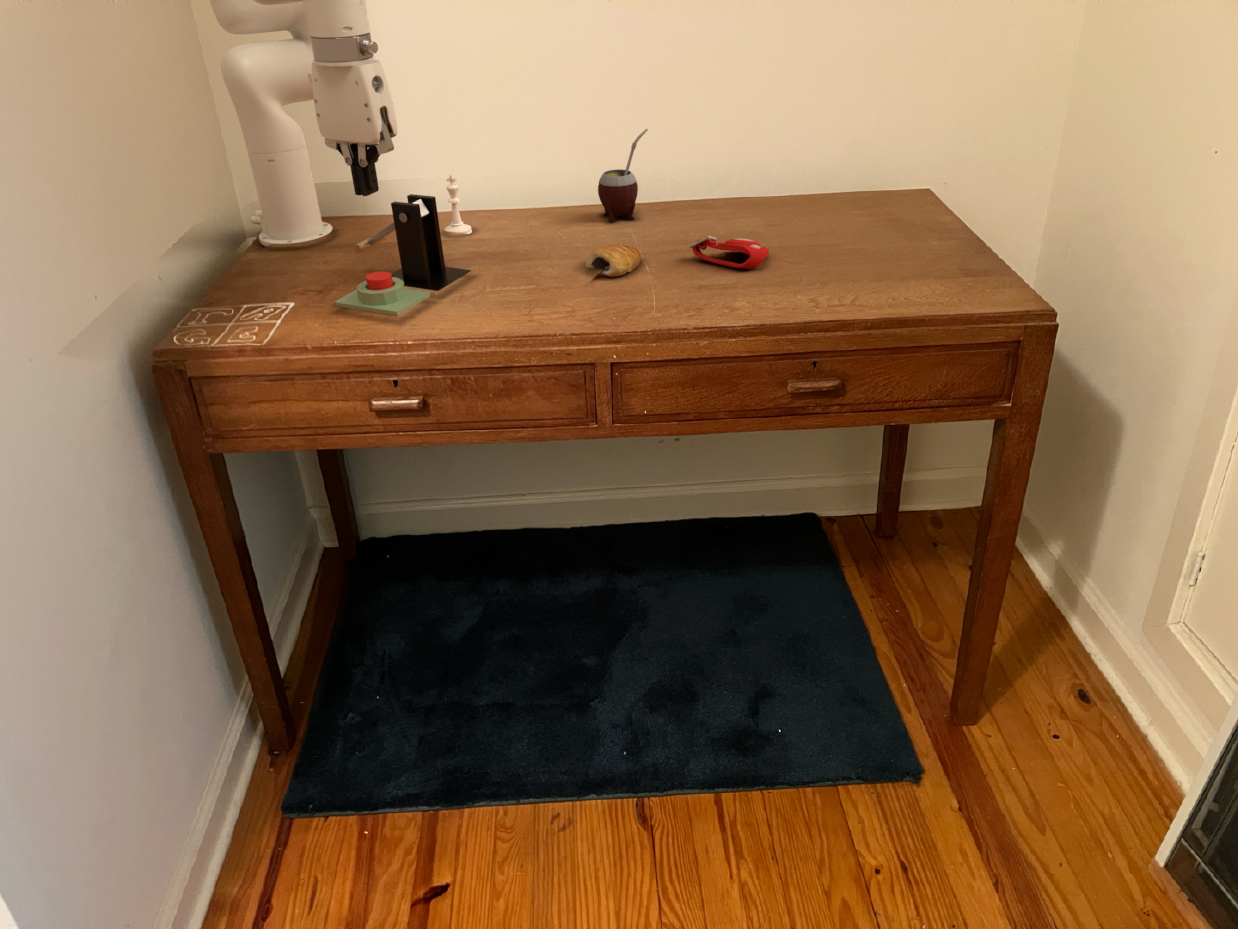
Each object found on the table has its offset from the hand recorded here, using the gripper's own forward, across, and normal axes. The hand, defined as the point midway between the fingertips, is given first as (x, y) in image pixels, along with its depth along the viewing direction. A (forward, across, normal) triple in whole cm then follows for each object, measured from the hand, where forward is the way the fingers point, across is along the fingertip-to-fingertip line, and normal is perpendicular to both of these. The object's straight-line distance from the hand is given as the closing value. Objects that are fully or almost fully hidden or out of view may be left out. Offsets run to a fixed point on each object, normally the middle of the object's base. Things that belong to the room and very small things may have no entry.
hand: (367, 192), depth 127 cm
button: (+13, -2, +3) cm, 13 cm away
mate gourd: (+16, -17, -48) cm, 53 cm away
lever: (+8, +2, -8) cm, 12 cm away
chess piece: (+16, +7, -30) cm, 35 cm away
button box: (+16, -2, +3) cm, 16 cm away
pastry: (+16, -27, -23) cm, 39 cm away
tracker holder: (+15, -43, -33) cm, 56 cm away
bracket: (+16, -2, -8) cm, 18 cm away
